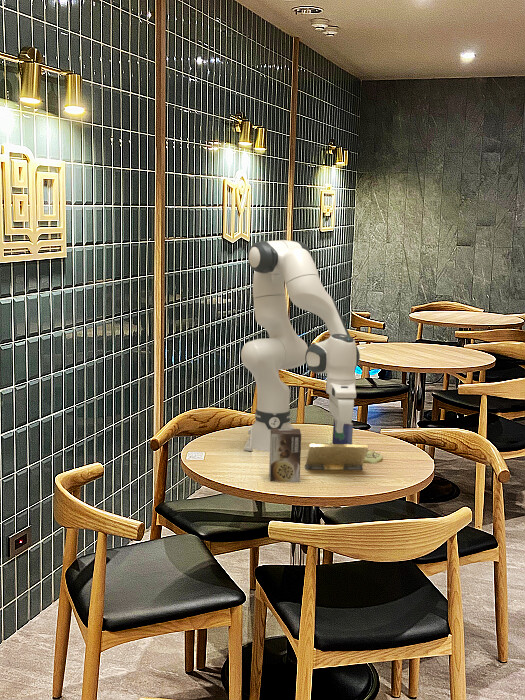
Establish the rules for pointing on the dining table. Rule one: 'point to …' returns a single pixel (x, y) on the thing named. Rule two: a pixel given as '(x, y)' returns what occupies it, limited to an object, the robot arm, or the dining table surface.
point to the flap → (336, 455)
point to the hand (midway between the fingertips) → (339, 432)
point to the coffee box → (285, 455)
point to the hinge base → (321, 467)
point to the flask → (343, 434)
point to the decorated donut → (372, 457)
